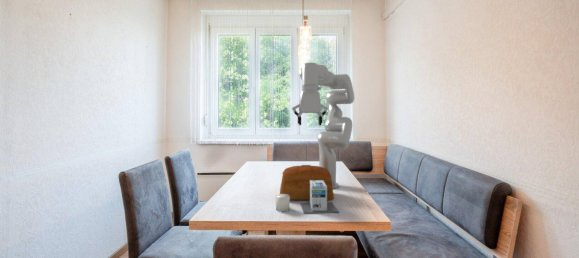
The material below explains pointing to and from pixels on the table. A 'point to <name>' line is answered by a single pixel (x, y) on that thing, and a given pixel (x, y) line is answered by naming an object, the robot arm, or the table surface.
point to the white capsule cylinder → (282, 202)
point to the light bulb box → (318, 195)
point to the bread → (304, 181)
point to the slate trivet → (307, 210)
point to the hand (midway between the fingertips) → (309, 125)
